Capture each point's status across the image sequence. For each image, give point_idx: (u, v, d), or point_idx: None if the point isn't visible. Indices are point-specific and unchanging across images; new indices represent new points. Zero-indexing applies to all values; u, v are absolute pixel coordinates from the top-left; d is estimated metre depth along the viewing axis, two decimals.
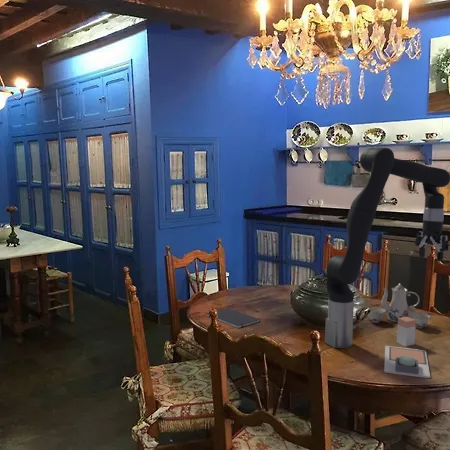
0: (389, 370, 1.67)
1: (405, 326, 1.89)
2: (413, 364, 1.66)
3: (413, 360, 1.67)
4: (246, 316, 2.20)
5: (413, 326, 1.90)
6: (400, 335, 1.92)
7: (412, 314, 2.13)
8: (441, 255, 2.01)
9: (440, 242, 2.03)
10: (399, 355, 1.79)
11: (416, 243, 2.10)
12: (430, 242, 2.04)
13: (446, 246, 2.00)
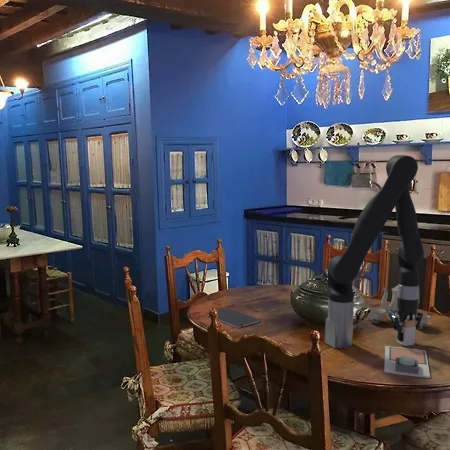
0: (389, 370, 1.67)
1: (405, 326, 1.89)
2: (413, 364, 1.66)
3: (413, 360, 1.67)
4: (246, 316, 2.20)
5: (413, 326, 1.90)
6: None
7: None
8: None
9: None
10: (399, 355, 1.79)
11: (399, 329, 1.88)
12: None
13: None
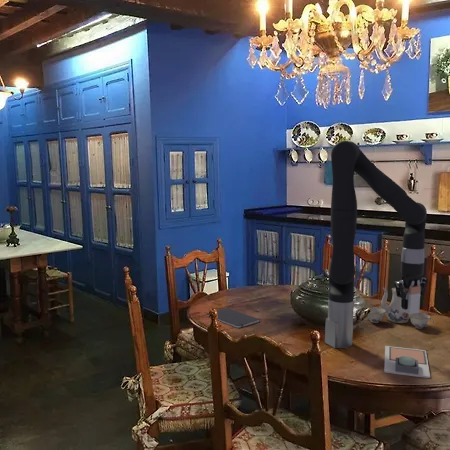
0: (389, 370, 1.67)
1: (410, 292, 1.76)
2: (413, 364, 1.66)
3: (413, 360, 1.67)
4: (246, 316, 2.20)
5: (418, 293, 1.77)
6: None
7: (412, 314, 2.12)
8: None
9: None
10: (399, 355, 1.79)
11: (403, 295, 1.75)
12: None
13: None
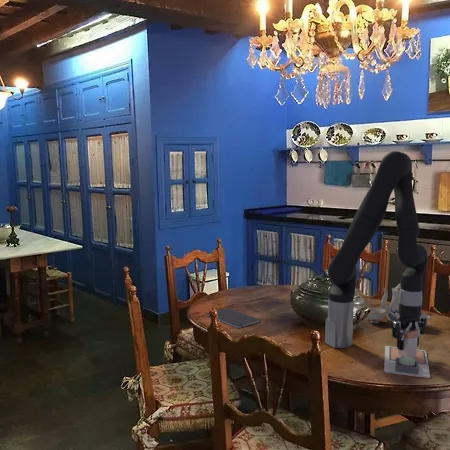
0: (389, 370, 1.67)
1: (407, 337, 1.76)
2: (413, 364, 1.66)
3: (413, 360, 1.67)
4: (246, 316, 2.20)
5: (415, 337, 1.77)
6: None
7: None
8: None
9: None
10: (399, 355, 1.79)
11: (398, 337, 1.75)
12: (412, 328, 1.77)
13: (419, 328, 1.81)
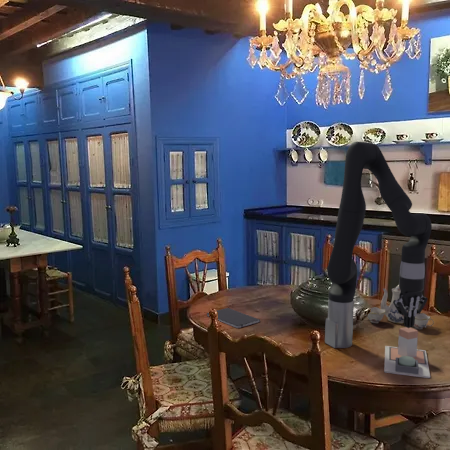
0: (389, 370, 1.67)
1: (407, 337, 1.76)
2: (413, 364, 1.66)
3: (413, 360, 1.67)
4: (246, 316, 2.20)
5: (415, 337, 1.77)
6: (401, 347, 1.78)
7: None
8: None
9: None
10: (399, 355, 1.79)
11: (406, 313, 1.64)
12: (413, 304, 1.65)
13: None
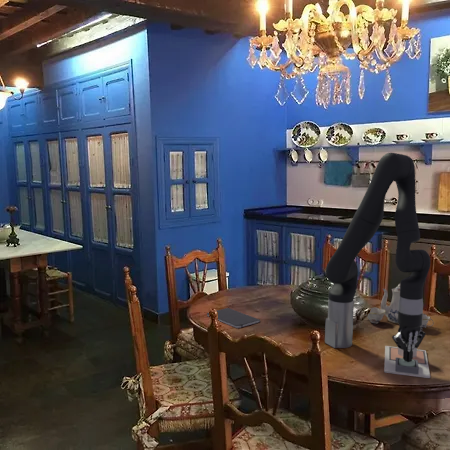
0: (389, 370, 1.67)
1: None
2: (413, 366, 1.67)
3: (413, 362, 1.67)
4: (246, 316, 2.20)
5: None
6: None
7: None
8: None
9: None
10: (399, 355, 1.79)
11: (405, 348, 1.65)
12: (412, 338, 1.66)
13: None
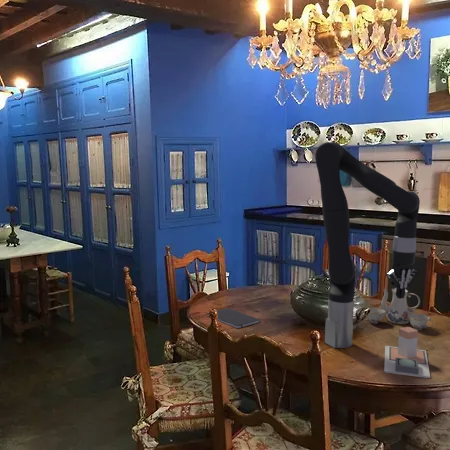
0: (389, 370, 1.67)
1: (407, 337, 1.76)
2: None
3: (413, 363, 1.67)
4: (246, 316, 2.20)
5: (415, 337, 1.77)
6: (401, 347, 1.78)
7: (412, 315, 2.11)
8: None
9: None
10: (399, 355, 1.79)
11: (398, 284, 1.75)
12: (405, 276, 1.76)
13: None
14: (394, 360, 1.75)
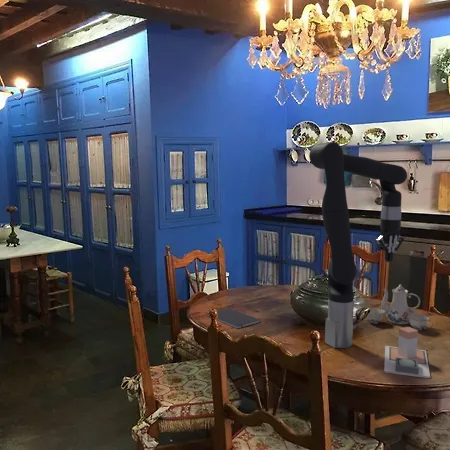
0: (389, 370, 1.67)
1: (407, 337, 1.76)
2: None
3: (413, 363, 1.67)
4: (246, 316, 2.20)
5: (415, 337, 1.77)
6: (401, 347, 1.78)
7: (411, 316, 2.10)
8: None
9: None
10: (399, 355, 1.79)
11: (386, 249, 1.96)
12: (392, 241, 1.97)
13: None
14: (394, 360, 1.75)
